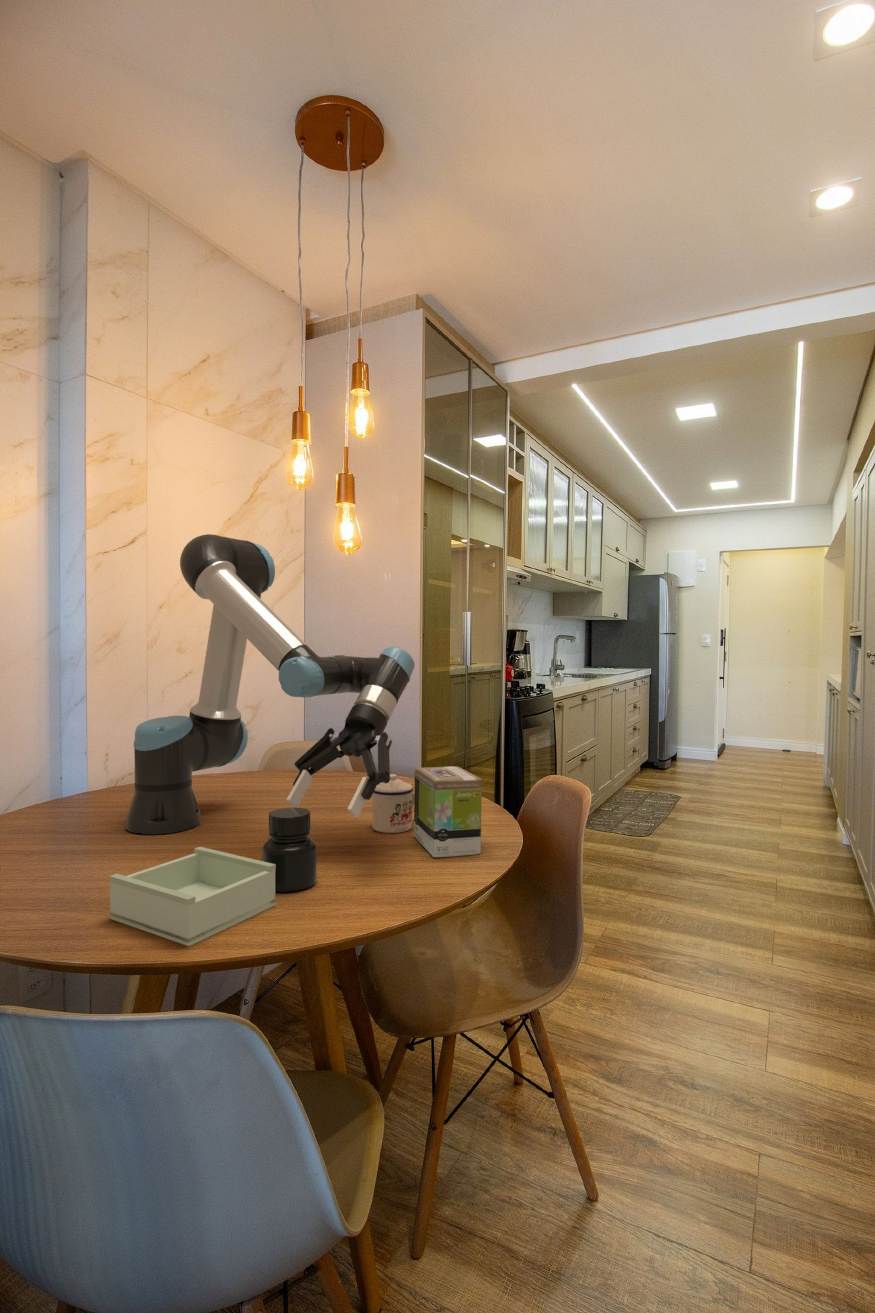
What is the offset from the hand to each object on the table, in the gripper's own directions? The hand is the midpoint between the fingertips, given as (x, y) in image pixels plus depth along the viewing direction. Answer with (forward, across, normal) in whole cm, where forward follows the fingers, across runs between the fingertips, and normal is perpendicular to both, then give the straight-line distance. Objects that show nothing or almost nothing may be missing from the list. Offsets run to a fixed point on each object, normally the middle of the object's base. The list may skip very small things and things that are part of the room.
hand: (321, 809), depth 115 cm
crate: (+24, +6, +8) cm, 26 cm away
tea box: (-9, -11, -26) cm, 30 cm away
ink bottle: (+13, +2, -4) cm, 13 cm away
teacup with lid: (-14, +5, -31) cm, 34 cm away
